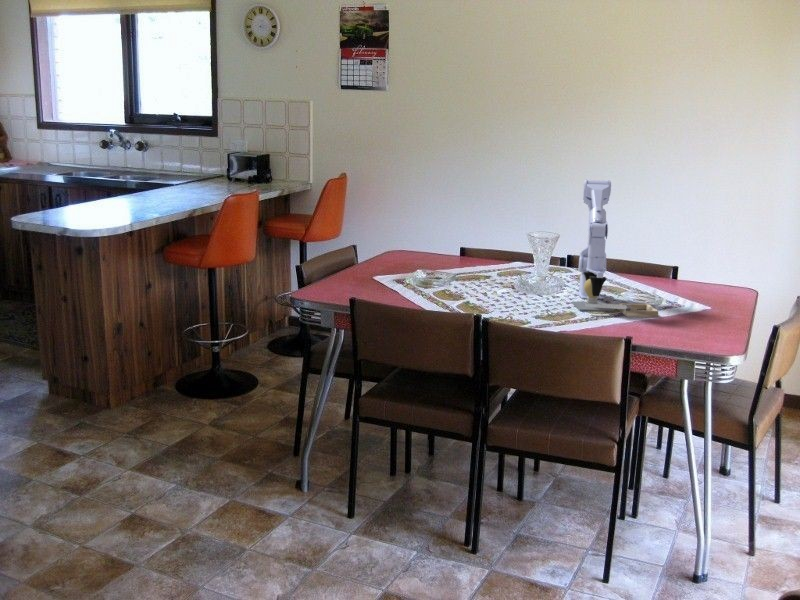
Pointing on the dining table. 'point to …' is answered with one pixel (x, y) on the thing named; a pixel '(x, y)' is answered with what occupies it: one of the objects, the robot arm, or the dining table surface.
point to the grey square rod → (609, 306)
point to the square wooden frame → (640, 311)
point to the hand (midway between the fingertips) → (593, 293)
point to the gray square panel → (582, 307)
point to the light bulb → (590, 292)
